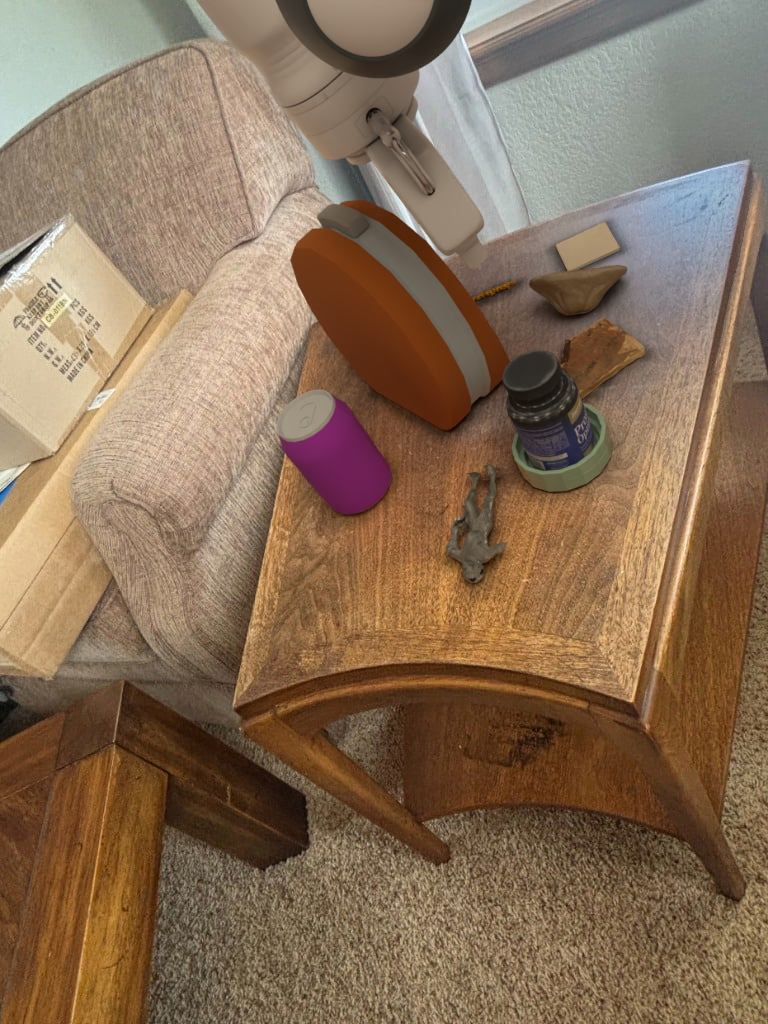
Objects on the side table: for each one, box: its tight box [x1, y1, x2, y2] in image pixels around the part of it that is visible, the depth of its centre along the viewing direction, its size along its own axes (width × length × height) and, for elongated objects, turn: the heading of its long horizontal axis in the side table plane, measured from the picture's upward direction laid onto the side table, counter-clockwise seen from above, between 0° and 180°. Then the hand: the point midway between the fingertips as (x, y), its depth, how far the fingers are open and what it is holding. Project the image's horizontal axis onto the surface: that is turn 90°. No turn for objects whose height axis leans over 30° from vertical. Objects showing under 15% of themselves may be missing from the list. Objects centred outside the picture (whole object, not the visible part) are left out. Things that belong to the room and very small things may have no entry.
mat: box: [555, 221, 621, 271], centre depth 84 cm, size 6×6×1 cm
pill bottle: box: [502, 349, 597, 471], centre depth 63 cm, size 6×6×11 cm
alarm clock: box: [289, 198, 511, 431], centre depth 74 cm, size 22×10×23 cm, turn 39°
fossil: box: [528, 264, 628, 316], centre depth 77 cm, size 9×4×10 cm
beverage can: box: [276, 389, 392, 515], centre depth 73 cm, size 8×8×12 cm
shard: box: [559, 317, 646, 400], centre depth 73 cm, size 11×8×2 cm
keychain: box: [472, 280, 518, 302], centre depth 87 cm, size 8×1×1 cm
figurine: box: [445, 462, 507, 584], centre depth 66 cm, size 6×4×12 cm
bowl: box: [511, 402, 613, 493], centre depth 67 cm, size 8×8×3 cm
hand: (457, 235), depth 60 cm, fingers open, 8 cm apart
